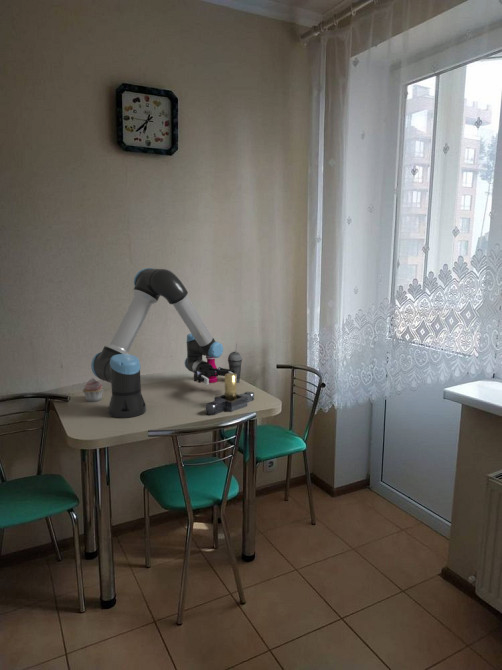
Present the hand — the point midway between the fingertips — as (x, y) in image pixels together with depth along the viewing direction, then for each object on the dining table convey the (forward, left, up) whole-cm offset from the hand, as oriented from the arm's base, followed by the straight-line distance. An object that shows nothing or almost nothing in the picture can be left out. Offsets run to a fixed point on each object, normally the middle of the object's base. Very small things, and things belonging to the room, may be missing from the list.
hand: (222, 379), depth 214 cm
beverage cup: (+26, +16, -10) cm, 32 cm away
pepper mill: (+19, +26, -10) cm, 34 cm away
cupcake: (-36, +45, -10) cm, 59 cm away
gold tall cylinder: (-3, -8, -10) cm, 13 cm away
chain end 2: (+2, -8, -10) cm, 13 cm away
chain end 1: (-7, -8, -10) cm, 14 cm away
